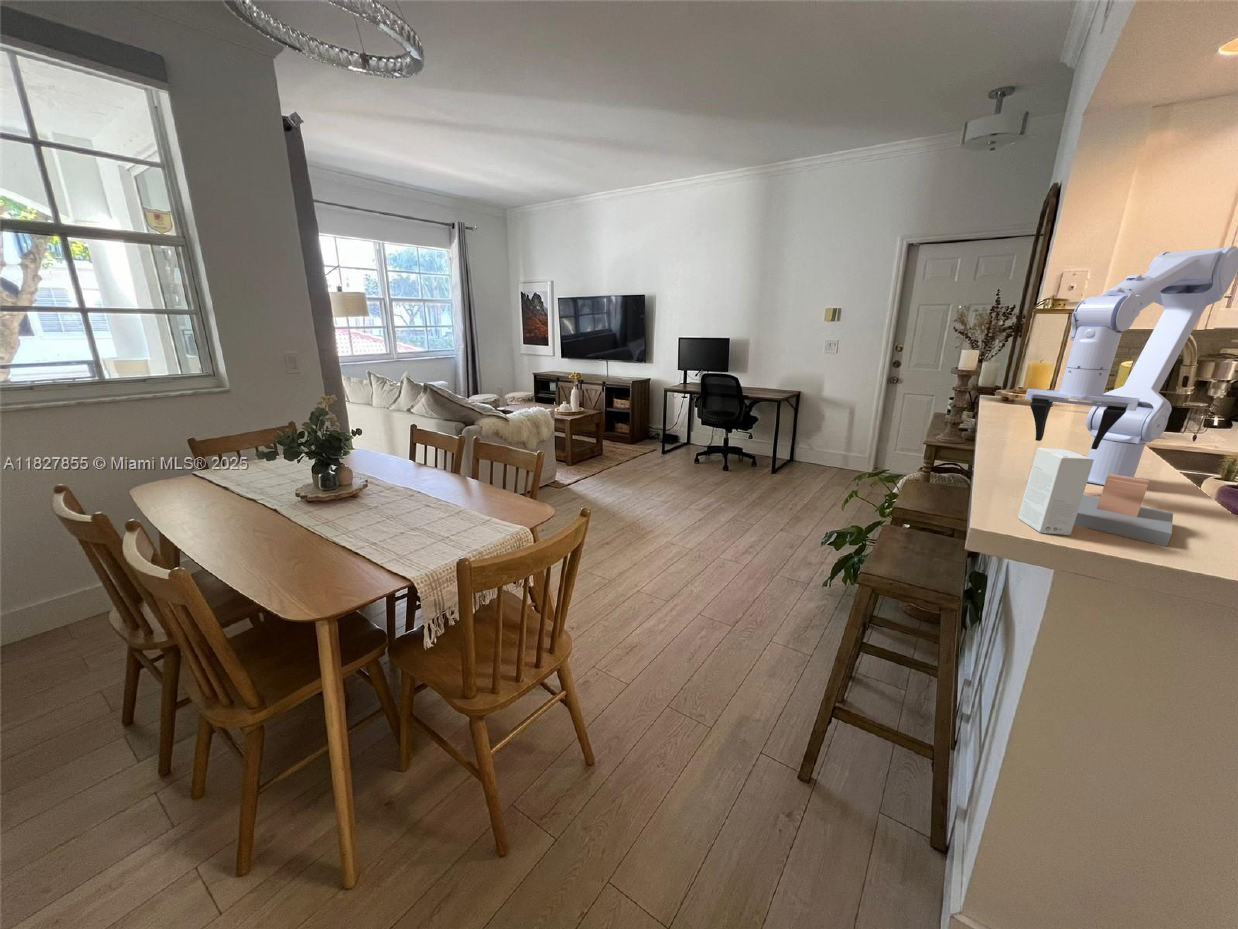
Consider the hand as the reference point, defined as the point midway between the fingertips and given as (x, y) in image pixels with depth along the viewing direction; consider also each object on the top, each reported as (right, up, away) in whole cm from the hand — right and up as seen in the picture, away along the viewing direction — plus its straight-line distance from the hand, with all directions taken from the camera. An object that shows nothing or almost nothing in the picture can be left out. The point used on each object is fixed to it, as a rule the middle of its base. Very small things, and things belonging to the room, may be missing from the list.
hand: (1065, 444), depth 87 cm
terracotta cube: (-2, -11, -11) cm, 15 cm away
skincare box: (-15, -14, -13) cm, 24 cm away
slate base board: (-2, -13, -11) cm, 17 cm away
